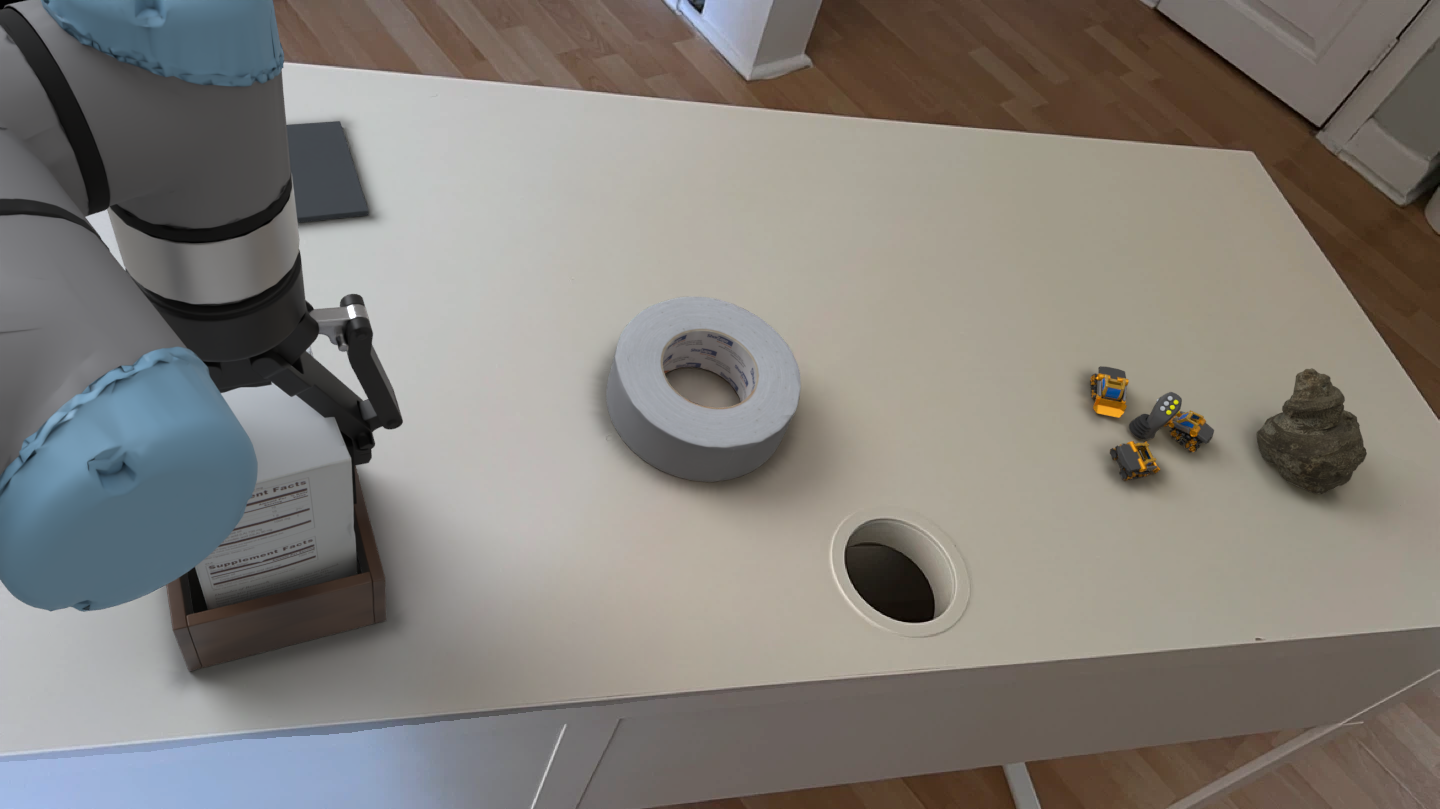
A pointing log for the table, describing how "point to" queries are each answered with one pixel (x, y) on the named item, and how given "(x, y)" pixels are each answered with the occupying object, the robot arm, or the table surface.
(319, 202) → the mat
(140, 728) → the table surface
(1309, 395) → the seashell
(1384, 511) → the table surface
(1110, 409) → the toy set
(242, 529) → the supplement box
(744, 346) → the tape roll
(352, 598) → the brown open square box
